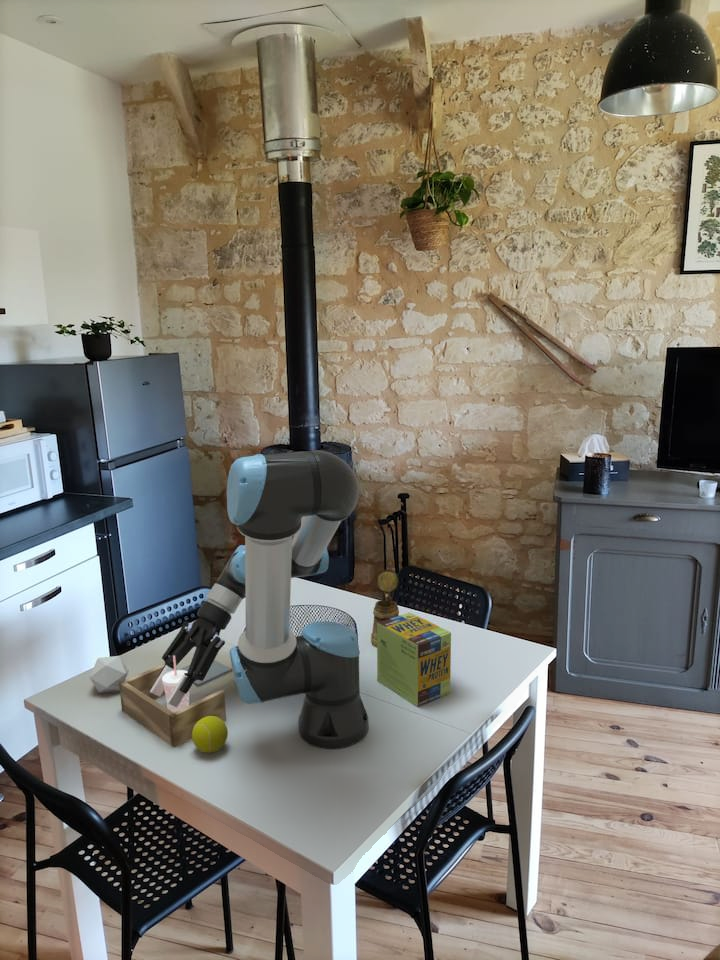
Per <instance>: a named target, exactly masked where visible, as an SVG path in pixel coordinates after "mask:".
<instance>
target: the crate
mask: <svg viewBox="0 0 720 960" xmlns="http://www.w3.org/2000/svg"><path fill="white" fill-rule="evenodd" d="M164 666H165V663H163V664H161V665H158V666H156V667H153V668H151V669H149V670H146V671H144V672H141V673H139V674H137V675H135V676H132V677H130V678H128V679H127V678H126V679H125V681H122V682H120V683H119V688H120V691H119V695H120V705H121V711H122V712H123V713H124V714H126V715H128V717H130V718H132V719H133V720H135V722H137V723H139V724H140V725H142V726H143V727H144V728H146V729H147V730H149V731H150V732H152V733H154V734H155V735H156V736H157V737H159V738H161V739H162V740H164V741H165V742H166V743H168V744H169V745H170V746H172V747H174V748H176V747H178V746H180V745H182V744H184V743H186V742H188V741H189V740H191V739H192V731H193V728H194V726H195V724H196V723H197V722H198V721H199V720H200V719H202V718H204V717H207V716H216V717H218V718H220V719H221V720H223V722H224V723H225V722H226V721H227V714H226V713H227V711H226V698H225V691H223V690H222V689H220V690H218V691H216V692H213V693H212V694H209V695H207V696H205V697H203V698H202V699H199V700H197V701H195V702H193V703H191V704H189V706H187V707H185V708H182V709H180V710H178V711H176V712H174V713H173V712H172V711H170V710H169V709H168V708H167V706H164V705H162V704H161V703H160V702H158V701H156V700H155V699H157V698H160V697H162V696H164V695H165V689H164V691H163V693H162V694H161V696H160V697H159V696H157V695H155V694H153V693H151V692H150V690H151V689H152V687H153V686H154V684H155V682H156V681H157V679H158V676H159V674H160V672H161V671H162V669H163V667H164ZM172 669H173V668H172Z"/></svg>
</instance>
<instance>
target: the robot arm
mask: <svg viewBox="0 0 720 960" xmlns="http://www.w3.org/2000/svg"><path fill="white" fill-rule="evenodd" d="M226 483H227V484H226V499H227V500H226V509H227V515H228V519H229V521H230V523H232V524H233V525H235V526H236V528H237V530H238V532H239V533H240V534H241V535H242V536H244V538H245V539H244V542H245V543H244V545H243V544H241V545H240V544H239V546H237V548H236V549H235V551H234V552H233V553H231V555H230V559H229V560H228V562H227V564H226V565H225V566H224V568H223V570H222V571H221V573H220V575H219V576H218V578H217V581H216V582H215V583H214V584H213V586H212V587H211V589H210V590H209V592H208V594H207V595H206V600H205V601H203V602H202V603H201V606H200V607H199V609H198V610H197V612H196V615H197V619H196V620H194V622H192V623H191V622H188V621H183V623H182V625H181V628H180V630H178V631H179V632H178V633H177V634H176V635H175V637H174V639H173V640H172V641H171V643H170V645H169V646H168V648H167V649H166V651H165V652H164V654H163V655H162V657H161V659H162V660H163V661H164V664H165V666H164V667H163V669H162V671H161V672H160V674H159V676H158V679H157V681H156V682H155V684H154V686H153V687H152V689H151V690H150V692H151V693H153V694H155V695H157V696H159V697H158V698H160V697H162V696H161V694H162V693H163V691H164V684H163V683H162V676H163V675H164V674H166V673H168V672H170V671H174V662H173V656H174V655H175V660H176V670H178V669H177V666H178V665H179V663H180V662H181V661H182V660H183V659H184V658H185V657H186V656H187V655H188V654H189V653H190V652H191V651H192V649H193V648H195V651H194V653H193V655H192V658H191V662H190V664H189V665H190V667H189V670H188V672H187V673H184V675H185V676H184V675H183V676H182V678H181V679H180V681H179V683H178V684H177V686H176V688H175V689H174V691H173V693H172V694H171V696H170V698H169V699H168V701H167V702H166V704H167V703H169V704H171V705H173V706H175V707H176V708H177V707H178V705H179V703H180V702H181V700H182V698H183V697H184V695H185V694H186V693H187V692H188V691H189V692H190V689H191V687H192V686H193V683H194V681H196V680H200V681H203V680H204V678H205V676H206V674H207V672H208V670H209V669H210V667H211V665H212V663H213V661H214V660H216V657H217V655H218V653H219V651H220V650H221V649H222V648H223V647H224V645H225V644H226V641H225V640H224V639H222V638H221V636H220V634H221V630H222V631H223V630H225V629H226V628H227V626H228V625H229V623H230V621H231V620H232V615H234V614H235V613H236V611H237V609H238V608H239V605H240V604H241V603H242V602H243V600H244V597H245V629H244V630H243V632H241V634H240V635H239V637H238V641H237V645H235V646H233V647H231V648H230V649H229V658H230V662H231V666H232V668H231V669H232V671H233V672H232V673H233V677H234V680H235V684H236V688H237V692H238V697H239V699H240V700H241V702H242V703H244V704H246V705H251V704H258V703H259V704H262V703H265V702H269V701H270V702H271V701H275V700H279V699H285V698H288V697H294V696H297V695H303V694H305V695H304V700H303V703H302V707H301V711H300V713H299V716H298V720H297V724H298V725H297V726H298V730H297V731H298V734H299V736H300V738H301V739H302V740H303V741H305V742H306V744H307V743H308V744H309V745H311V746H314V747H316V748H322V749H341V748H346V747H349V746H352V745H355V744H356V743H358V742H359V741H361V740H363V738H364V737H366V735H367V734H368V731H369V716H368V713H367V710H366V707H365V705H364V704H365V703H364V701H363V699H362V697H361V694H360V654H361V653H360V647H359V637H358V635H357V633H356V631H354V630H353V628H350V627H349V626H348V625H346V624H345V625H344V624H343V623H339V622H334V621H327V620H326V621H325V620H323V621H322V620H321V621H314V622H310V623H308V624H306V625H305V626H303V629H302V631H301V635H297V636H296V634H295V633H294V632H293V631H292V630H291V629H290V624H291V623H290V622H291V621H290V619H291V613H290V612H291V593H292V591H291V590H292V589H291V587H292V579H294V578H300V577H309V576H310V577H311V576H316V575H318V574H324V573H326V572H327V570H328V569H329V563H330V561H329V560H330V559H329V558H330V557H329V552H328V546H329V544H330V543H331V540H332V538H333V537H334V535H335V533H336V531H337V530H338V528H339V526H340V524H341V523H342V521H345V520H346V519H347V518H349V517H350V516H351V514H352V513H353V511H354V510H355V508H356V506H357V504H358V501H359V498H360V497H359V496H360V487H359V486H360V485H359V481H358V478H357V476H356V474H355V471H354V470H353V469H352V468H351V467H350V465H349V464H348V463H347V462H346V461H345V460H344V459H342V458H340V457H339V456H338V455H336V454H333V453H332V452H328V451H325V450H317V449H316V450H307V451H295V452H294V451H293V452H282V453H281V452H280V453H270V454H262V453H258V454H254V455H251V456H249V455H248V456H243V457H242V456H241V457H239V458H237V459H235V460H234V462H233V463H232V464H231V466H230V469H229V472H228V477H227V482H226ZM172 668H173V669H172ZM200 673H201V674H200ZM186 676H187V677H186Z"/></svg>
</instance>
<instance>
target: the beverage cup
mask: <svg viewBox="0 0 720 960" xmlns="http://www.w3.org/2000/svg"><path fill="white" fill-rule="evenodd" d="M173 662H174V671H170V672H168V673H166V674H164V675H163V676H162V683H163V684H164V689H165V694H164V695H165V700H166V708H167V709H169V710H170V711H172V712H173V713H174V712H176V711H178V710H180V709H182V708H185V707H187V706H189V705H190V690H189V691H188V692H187V693H186V694H185V695H184V697H183V698H182V700H181V702H180V703H179V705H178V707H177V708H176V707H175V706H173V705H171V704H169V703H167V701H168V699H169V698H170V696H171V694H172V693H173V691H174V689H175V688H176V686H177V684H178V683H179V681H180V679H181V678H182V676H183V675H184V673H187V672H188V671H185V670H179V669H176V668H177V666H176V660H175V655H174V656H173ZM184 676H185V675H184ZM186 677H187V676H186Z"/></svg>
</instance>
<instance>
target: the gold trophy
mask: <svg viewBox="0 0 720 960" xmlns="http://www.w3.org/2000/svg"><path fill="white" fill-rule="evenodd" d="M376 581H377V583H376V586H377V589H378V590H379V591H380V592H381V594H382V597H381V600H377V601H376V602H375V605H374V607H373V612H372V613H373V625H372V632H371V636H370V642H371V644H372V646H374V647H375V648H377V623H378V622H381V621H384V620H387V619H391V618H394V617H397V616H400V615H399V614H400V612H399V611H400V609H399V606H398V603H397V602H396V601H394V600H392V593H393V592H395V591H396V590H397V589H398V587H399V583H400V579H399V576H398V574H397V573H396V572H395V571H394V570H392V569H391V568H387V569H384V570H383V571H381V572H380V574H379V575H377V579H376Z"/></svg>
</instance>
